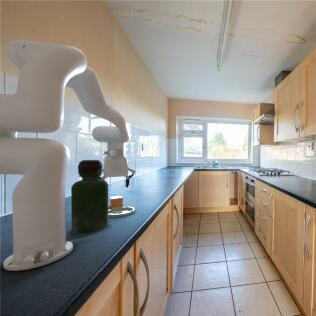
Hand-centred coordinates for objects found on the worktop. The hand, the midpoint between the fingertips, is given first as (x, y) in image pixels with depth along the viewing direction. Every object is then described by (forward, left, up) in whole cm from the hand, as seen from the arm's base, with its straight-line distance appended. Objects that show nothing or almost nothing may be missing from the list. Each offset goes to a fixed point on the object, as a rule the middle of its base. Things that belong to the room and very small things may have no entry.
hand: (115, 188), depth 91 cm
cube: (+1, 0, -10) cm, 10 cm away
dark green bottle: (-23, +11, -10) cm, 28 cm away
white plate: (-11, 0, -10) cm, 15 cm away
